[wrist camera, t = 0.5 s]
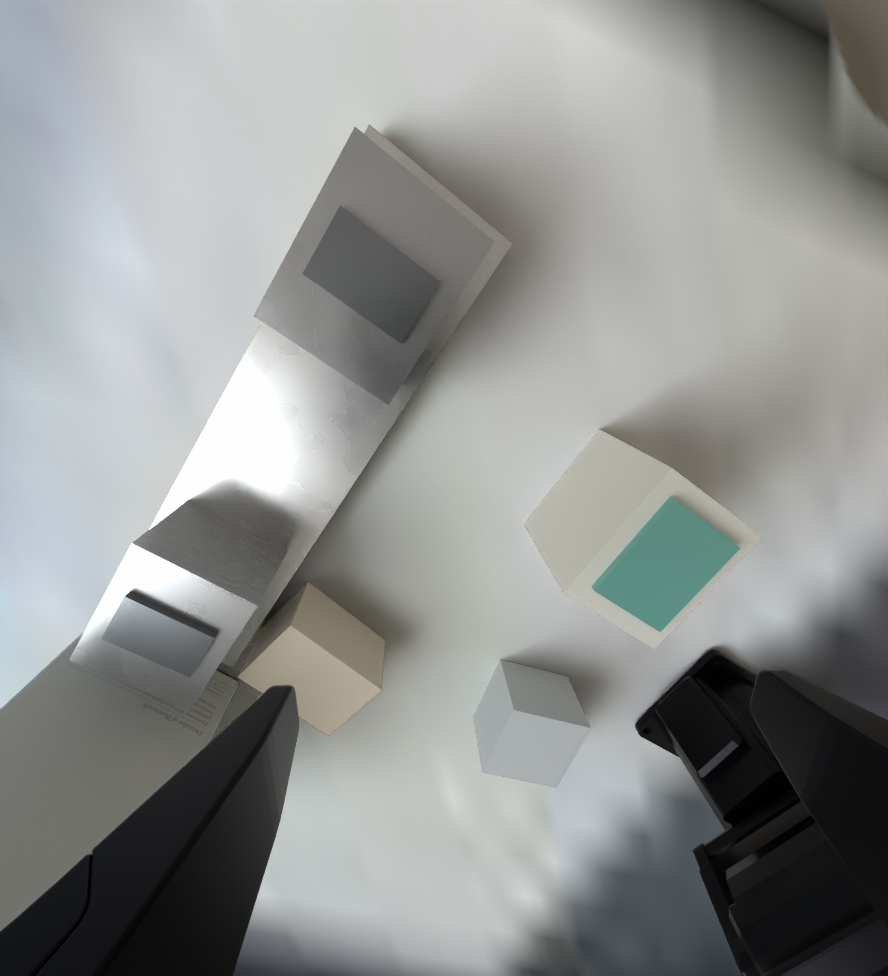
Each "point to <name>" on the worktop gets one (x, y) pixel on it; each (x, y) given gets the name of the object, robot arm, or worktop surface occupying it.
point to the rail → (295, 418)
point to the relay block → (529, 724)
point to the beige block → (317, 659)
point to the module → (635, 538)
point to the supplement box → (84, 766)
